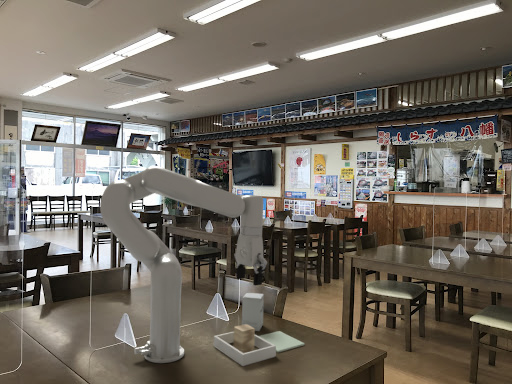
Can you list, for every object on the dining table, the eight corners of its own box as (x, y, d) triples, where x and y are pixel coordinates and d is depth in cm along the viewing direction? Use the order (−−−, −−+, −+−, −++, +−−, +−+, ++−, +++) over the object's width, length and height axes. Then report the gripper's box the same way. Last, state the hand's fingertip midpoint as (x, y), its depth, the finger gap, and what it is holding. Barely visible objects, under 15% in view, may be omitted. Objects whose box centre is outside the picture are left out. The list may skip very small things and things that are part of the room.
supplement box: (259, 331, 152) (260, 298, 151) (241, 329, 153) (241, 297, 153) (263, 325, 159) (264, 293, 159) (245, 323, 160) (246, 292, 160)
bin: (242, 366, 122) (242, 354, 122) (213, 346, 137) (213, 335, 137) (275, 356, 130) (275, 345, 129) (244, 338, 144) (245, 328, 144)
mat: (277, 352, 133) (277, 350, 133) (253, 338, 144) (253, 337, 144) (304, 345, 140) (304, 343, 140) (279, 332, 151) (279, 330, 151)
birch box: (241, 355, 130) (242, 331, 129) (233, 350, 134) (234, 326, 134) (254, 352, 133) (255, 328, 133) (246, 346, 137) (247, 323, 137)
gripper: (227, 229, 140) (225, 277, 140) (257, 235, 126) (255, 288, 126) (245, 228, 144) (243, 275, 144) (275, 234, 130) (273, 286, 131)
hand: (248, 281), depth 135 cm, fingers open, 9 cm apart
